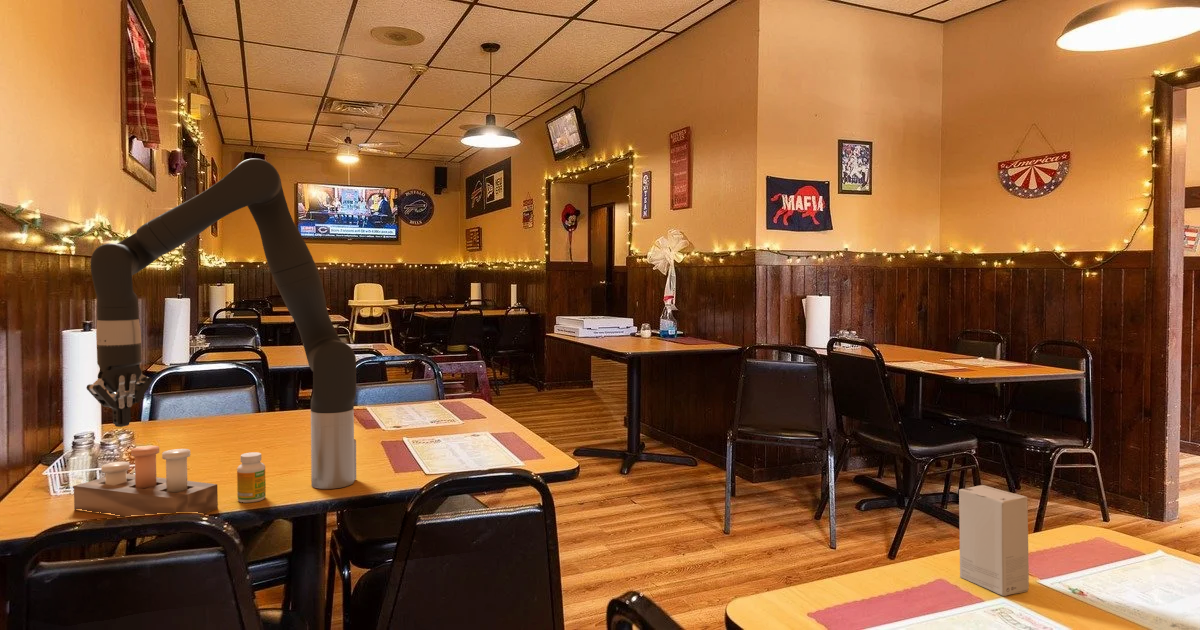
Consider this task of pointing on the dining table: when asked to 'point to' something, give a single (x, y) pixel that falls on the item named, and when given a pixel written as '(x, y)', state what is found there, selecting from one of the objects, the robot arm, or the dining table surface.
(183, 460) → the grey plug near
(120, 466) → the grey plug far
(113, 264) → the robot arm
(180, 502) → the walnut socket board
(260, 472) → the supplement bottle
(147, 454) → the terracotta plug
